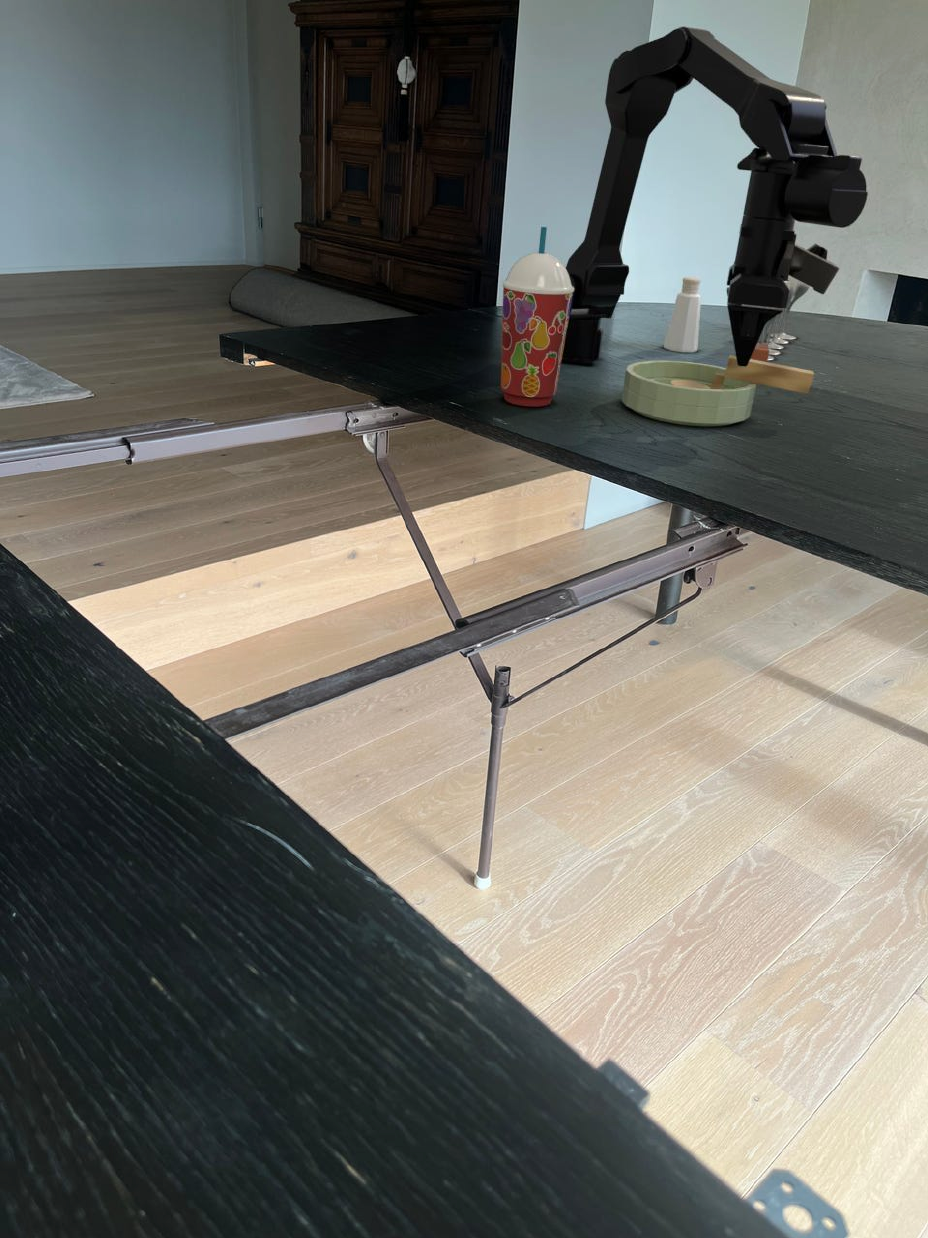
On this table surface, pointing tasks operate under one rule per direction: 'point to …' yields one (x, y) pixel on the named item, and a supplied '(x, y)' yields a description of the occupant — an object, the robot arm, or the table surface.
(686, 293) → the salt shaker
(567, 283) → the smoothie
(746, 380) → the wooden z bracket
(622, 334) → the table surface
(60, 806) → the table surface
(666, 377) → the bowl
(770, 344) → the goblet set
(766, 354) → the orange upright block
